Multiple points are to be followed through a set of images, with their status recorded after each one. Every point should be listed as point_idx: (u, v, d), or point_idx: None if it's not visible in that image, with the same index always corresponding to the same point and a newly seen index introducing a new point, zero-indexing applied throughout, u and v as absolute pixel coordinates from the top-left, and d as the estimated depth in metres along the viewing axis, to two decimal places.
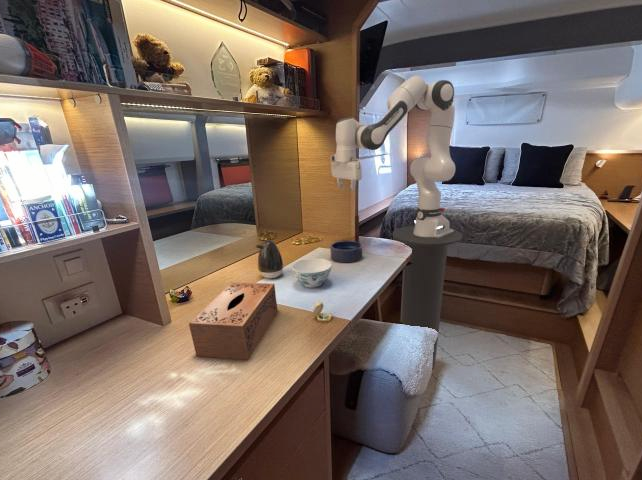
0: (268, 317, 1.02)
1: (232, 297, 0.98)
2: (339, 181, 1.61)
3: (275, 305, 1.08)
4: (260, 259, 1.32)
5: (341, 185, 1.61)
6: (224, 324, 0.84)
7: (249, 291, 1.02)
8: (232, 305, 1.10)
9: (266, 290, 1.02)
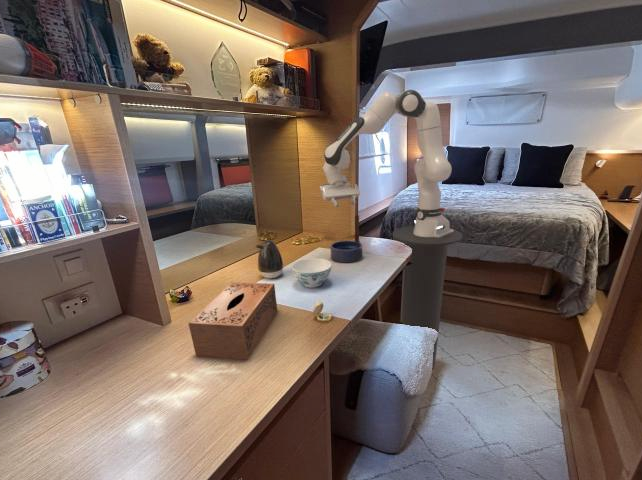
0: (268, 317, 1.02)
1: (231, 297, 0.99)
2: (353, 199, 1.76)
3: (275, 305, 1.08)
4: (260, 259, 1.32)
5: (351, 202, 1.74)
6: (224, 324, 0.84)
7: (249, 291, 1.02)
8: (232, 305, 1.10)
9: (266, 290, 1.02)
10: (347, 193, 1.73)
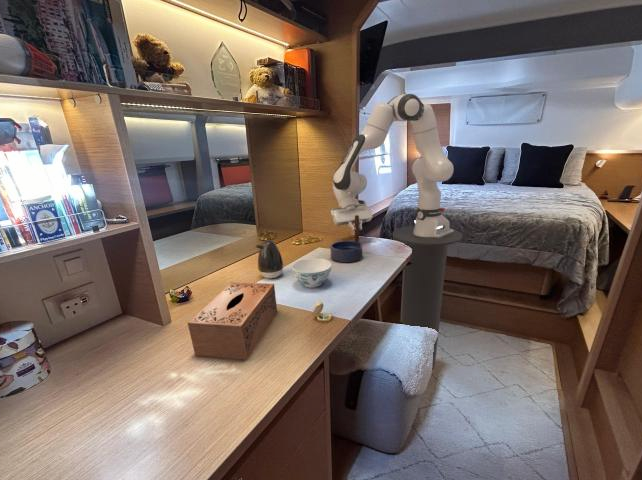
0: (267, 317, 1.02)
1: (231, 297, 0.99)
2: (359, 224, 1.67)
3: (275, 305, 1.08)
4: (260, 259, 1.32)
5: None
6: (223, 324, 0.84)
7: (248, 291, 1.02)
8: (232, 305, 1.10)
9: (266, 290, 1.02)
10: (359, 218, 1.66)
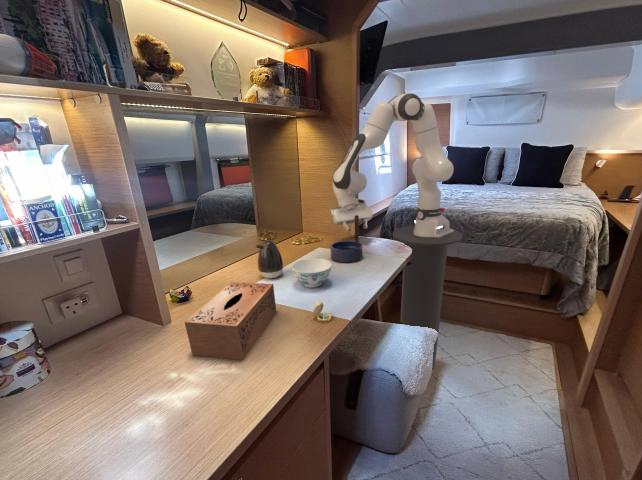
0: (266, 317, 1.02)
1: (229, 296, 0.99)
2: (365, 223, 1.69)
3: (274, 305, 1.08)
4: (260, 259, 1.32)
5: (363, 226, 1.67)
6: (219, 324, 0.84)
7: (247, 291, 1.02)
8: (231, 304, 1.10)
9: (264, 290, 1.02)
10: (359, 217, 1.66)
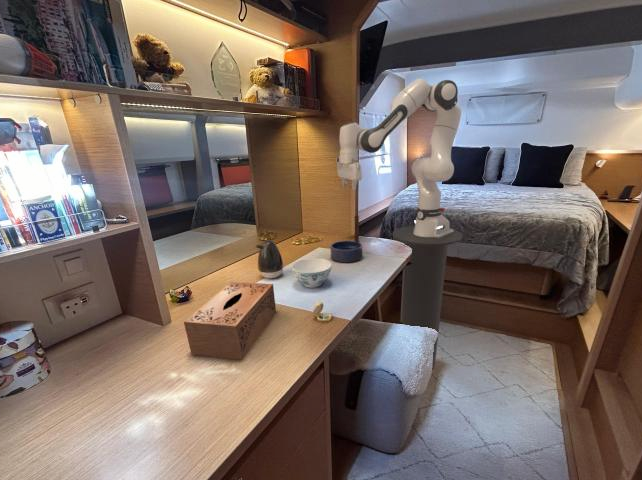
0: (265, 317, 1.02)
1: (229, 296, 0.99)
2: (344, 181, 1.73)
3: (273, 305, 1.08)
4: (260, 259, 1.32)
5: (345, 185, 1.73)
6: (218, 324, 0.85)
7: (247, 291, 1.02)
8: (231, 304, 1.10)
9: (264, 290, 1.02)
10: None
